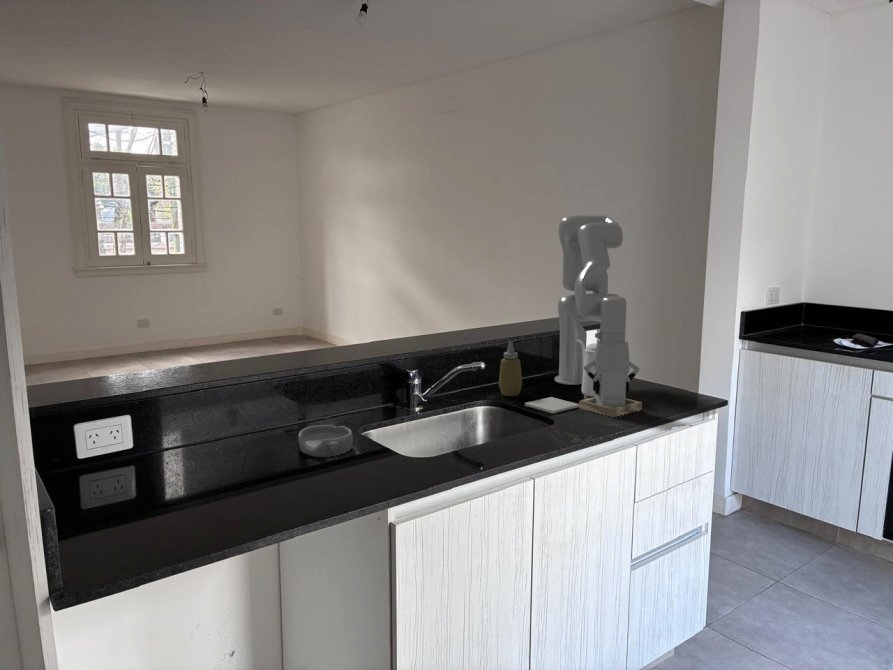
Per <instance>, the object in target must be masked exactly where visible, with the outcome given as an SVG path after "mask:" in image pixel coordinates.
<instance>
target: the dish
mask: <svg viewBox="0 0 893 670" xmlns="http://www.w3.org/2000/svg"><path fill="white" fill-rule="evenodd" d="M297 439H298V440H297V441H298V447H299V449H300V451H301V452H302V453H303V454H304V453H305V455H307V454H308V455H307V456H310V455H311V457H316V458H332V457H331V456H334V457H337V456H336V455H338V456H341V455H340V454H342V455H344V454H346V452H347V451H348V452H349V451H351V449H352V448H353V443H354V442H353V441H354V440H353V439H354V437H353V432H352V430H351V429H350V428H348V427H347V426H344V425H339V426H335V425H333V424H321V425H319V424H318V425H310V426H306V427H305V428H302V429H301V430H300V431H299V432H298V437H297ZM348 452H347V453H348ZM343 453H344V454H343Z"/></svg>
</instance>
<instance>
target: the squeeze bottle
mask: <svg viewBox="0 0 893 670" xmlns="http://www.w3.org/2000/svg"><path fill="white" fill-rule="evenodd" d="M518 356H519V353H518V352H515V348H514V343H513V341H509V342H508V346H507V350H506V351H505V352H503V358H502V359H501V360H500V367H499V376H498V387H499V390H500V393H501V396H506V397H516V396H519V395H520V392H521V390H522V386H523V376H522V366H521V359H519V358H518Z"/></svg>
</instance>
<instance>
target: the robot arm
mask: <svg viewBox="0 0 893 670" xmlns="http://www.w3.org/2000/svg"><path fill="white" fill-rule="evenodd" d="M558 237H559V241H560V245H561V249H562V250H561V251H562V285H563V288H564V289H565V290H566V291H569V292H570V291H571V292H573V294H568V295H565V296H563V297H561V298H560V299H559V300H558V303H557V314H558V320H559V357H558V358H559V364H558V365H559V366H558V375H556V376H555V377H554V381H555V382H556V383H558V384H562V385H571V386H572V385H573V386H574V385H575V386H576V385H577V386H579V385H580V384H581V385H582V380H583V355H582V345H581V343H580V342H577V341H576V340H581V341H582V342H583V343H584V346H585V349H586V348H587V337H588V336H587V332H586V330H585V328H584V327H583V326H582V325H581V322H600V323H599V324H600V325H599V328H600V329H599V332H598V333H597V332H596V333H595V334H594V338H595V339H600V341H598V342H596V343H597V346H596V353H595V360H594V361H592V362H591V363H589V364H588V365H586V366H584V370H585V371H586V373H587V374H588V376H589V377H590V378H591V379H592V380H593V391H595V393H596V394H598V389H599V382H598V378H599V377H600V375H601V372H606V371H607V372H626V396H627V393H628V392H630V382H631V381H632V380H633V379H634V378H635V377H636V375H638V373H639V372H640V370H641V369H640V368H639V366H637V365H635V363H633V362H632V361H630V349H629V348H630V347H629V343H628V341H626V329H627V328H626V327H627V326H626V325H627V299H626V298H625V297H624V296H623V297H622V296H620V295H619V294H617V293H609V275H608V269H609V268H610V267H611V260H610V254H609V249H617V248H620V247H621V246H622V244H623V241H624V234H623V230H622V228H621V225H620V224H619V222H617V221H615V220H614V219H612V218H611V217H609V216H607V215H568V216H566V217H563V218H562V219H561V220H560V221H559V224H558ZM587 292H592V293H587ZM593 366H594V368H595V372H596V373H595V374H593V373H592V372H591V371H590V368H592V367H593ZM630 368H631V369H633V370H632V371H631V372H630Z"/></svg>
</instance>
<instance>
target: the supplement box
mask: <svg viewBox="0 0 893 670" xmlns="http://www.w3.org/2000/svg"><path fill="white" fill-rule="evenodd" d="M598 382H599V389H598V394H596V404H599V405H603V406H607V407H611V408H616V407H620V406H624V405H625V398H626V397H627V395H626V372H607V371H606V372H601V375H600V377H599V378H598Z"/></svg>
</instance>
